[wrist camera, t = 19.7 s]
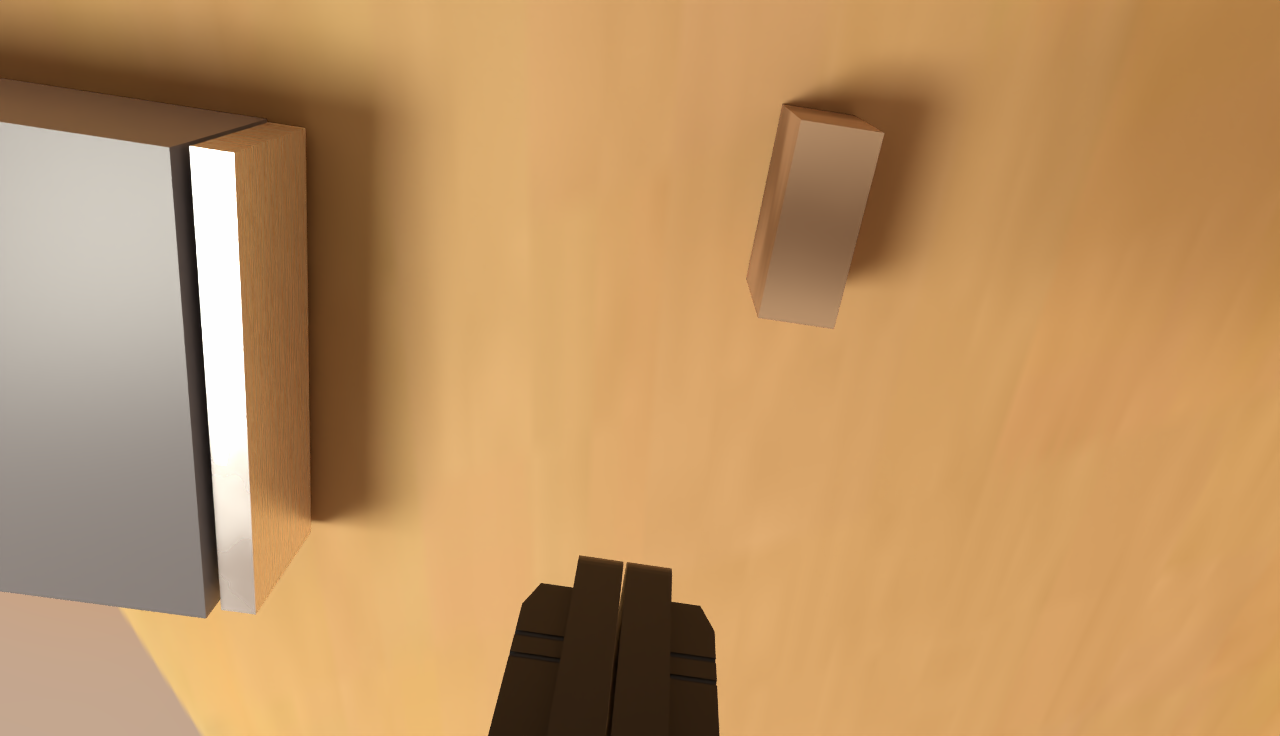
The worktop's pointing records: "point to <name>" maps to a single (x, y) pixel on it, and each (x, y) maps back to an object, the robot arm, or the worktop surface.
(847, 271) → the brown rectangular block
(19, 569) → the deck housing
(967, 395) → the worktop surface
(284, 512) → the tray
